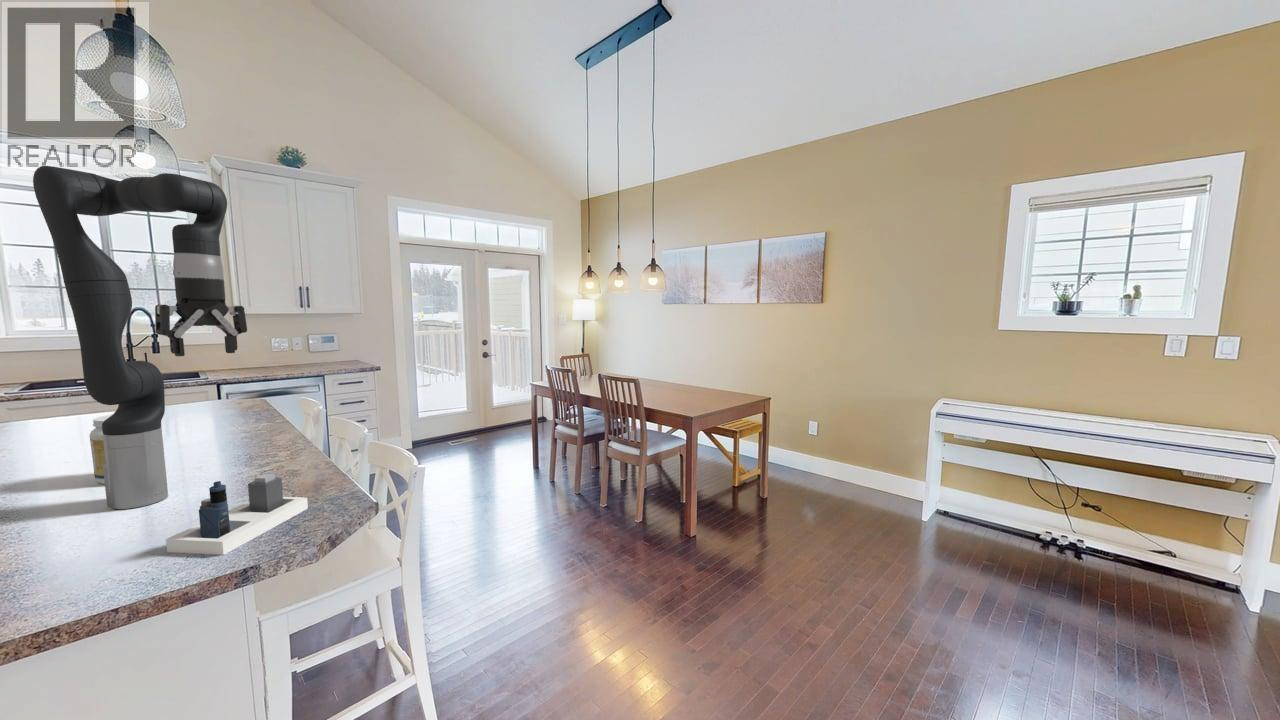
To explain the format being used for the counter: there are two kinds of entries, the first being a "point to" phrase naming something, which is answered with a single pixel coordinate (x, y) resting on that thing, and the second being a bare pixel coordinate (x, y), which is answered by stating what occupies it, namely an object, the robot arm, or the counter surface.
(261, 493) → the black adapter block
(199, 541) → the dock
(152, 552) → the counter surface
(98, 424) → the supplement tub
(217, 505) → the vaping device
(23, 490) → the counter surface
